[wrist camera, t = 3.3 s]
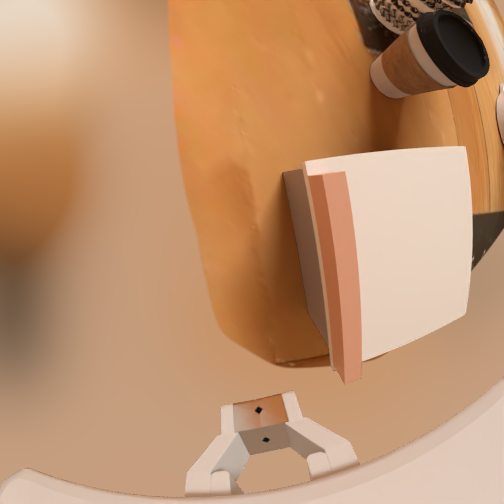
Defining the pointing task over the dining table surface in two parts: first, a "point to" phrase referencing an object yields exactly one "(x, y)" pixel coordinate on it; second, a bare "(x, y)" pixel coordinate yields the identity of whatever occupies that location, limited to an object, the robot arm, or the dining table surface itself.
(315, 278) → the storage box
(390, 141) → the dining table surface
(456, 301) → the lid
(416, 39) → the coffee cup
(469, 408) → the robot arm
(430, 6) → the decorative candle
